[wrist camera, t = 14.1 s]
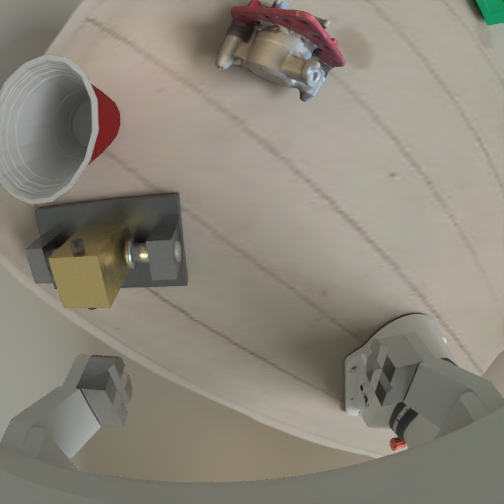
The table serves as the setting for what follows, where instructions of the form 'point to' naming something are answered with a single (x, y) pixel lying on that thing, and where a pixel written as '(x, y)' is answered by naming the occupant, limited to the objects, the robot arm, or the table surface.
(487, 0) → the camera mount
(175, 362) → the table surface
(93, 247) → the block
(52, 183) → the plastic cup
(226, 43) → the brake caliper
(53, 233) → the shaft stand
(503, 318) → the table surface
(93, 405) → the robot arm
